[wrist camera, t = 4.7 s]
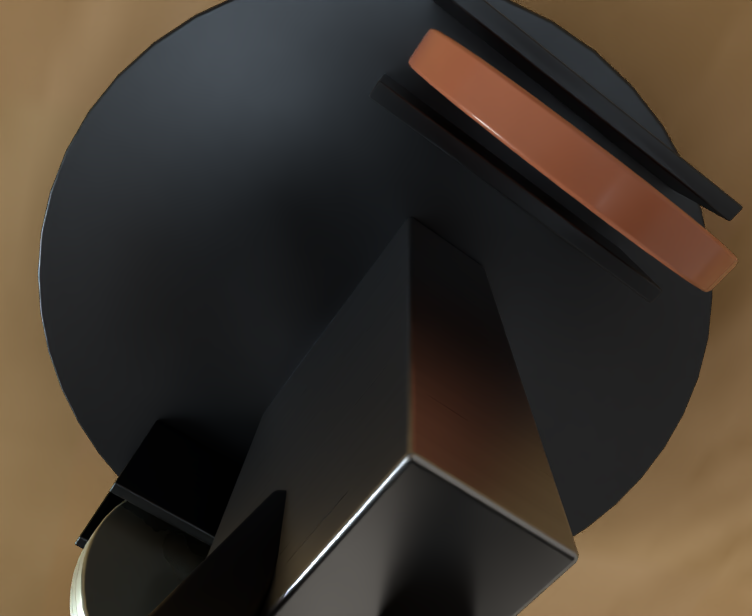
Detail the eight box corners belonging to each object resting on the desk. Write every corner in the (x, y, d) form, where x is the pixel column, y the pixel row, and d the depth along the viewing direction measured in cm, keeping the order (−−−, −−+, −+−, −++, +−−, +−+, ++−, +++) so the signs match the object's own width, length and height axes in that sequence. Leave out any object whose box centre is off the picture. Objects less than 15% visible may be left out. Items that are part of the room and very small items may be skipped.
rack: (845, 262, 14) (1504, 593, 5) (433, 646, 19) (451, 1116, 11) (259, -214, 11) (-203, -1004, 3) (-36, 388, 16) (-505, 752, 8)
